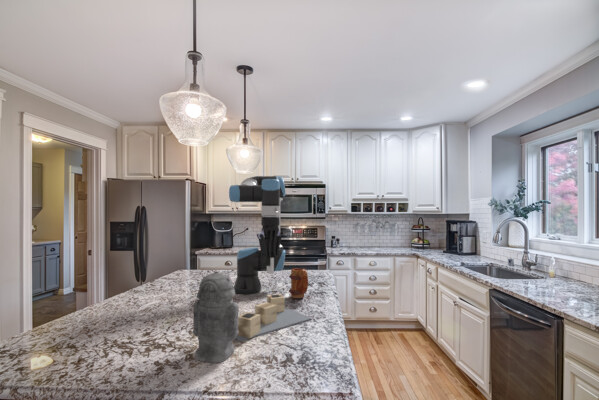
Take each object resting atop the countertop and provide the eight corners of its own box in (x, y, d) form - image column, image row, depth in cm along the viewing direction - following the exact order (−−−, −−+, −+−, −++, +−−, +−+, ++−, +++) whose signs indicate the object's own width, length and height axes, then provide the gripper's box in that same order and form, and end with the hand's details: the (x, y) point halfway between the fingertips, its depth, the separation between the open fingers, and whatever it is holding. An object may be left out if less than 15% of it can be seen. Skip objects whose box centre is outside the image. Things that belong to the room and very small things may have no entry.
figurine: (202, 344, 94) (203, 267, 95) (242, 349, 91) (243, 269, 92) (184, 359, 85) (185, 273, 86) (228, 365, 82) (229, 276, 83)
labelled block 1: (236, 334, 101) (236, 316, 101) (246, 328, 106) (246, 311, 106) (250, 338, 98) (250, 319, 98) (260, 331, 103) (260, 313, 104)
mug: (286, 296, 150) (286, 266, 150) (300, 294, 153) (300, 265, 154) (298, 304, 136) (298, 272, 137) (313, 301, 140) (313, 270, 140)
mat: (215, 323, 112) (215, 322, 112) (282, 307, 132) (282, 305, 132) (239, 341, 96) (239, 339, 96) (311, 319, 117) (311, 318, 117)
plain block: (255, 321, 113) (255, 305, 114) (266, 317, 118) (266, 302, 118) (265, 325, 109) (265, 309, 110) (276, 320, 114) (276, 305, 114)
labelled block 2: (266, 309, 128) (266, 294, 128) (279, 307, 130) (279, 293, 130) (271, 313, 122) (271, 298, 122) (284, 311, 124) (284, 296, 125)
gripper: (264, 217, 112) (264, 277, 112) (287, 216, 122) (287, 272, 122) (252, 216, 117) (252, 274, 117) (275, 215, 127) (275, 269, 127)
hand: (270, 273), depth 119 cm, fingers closed
